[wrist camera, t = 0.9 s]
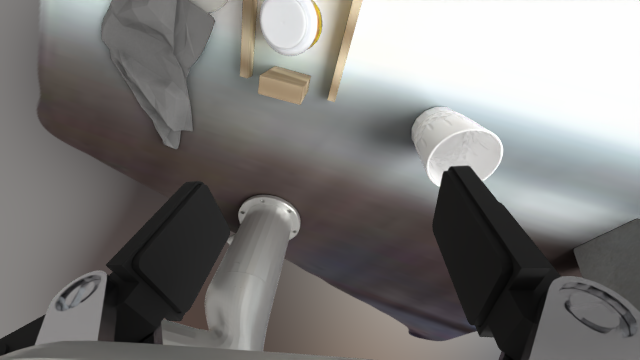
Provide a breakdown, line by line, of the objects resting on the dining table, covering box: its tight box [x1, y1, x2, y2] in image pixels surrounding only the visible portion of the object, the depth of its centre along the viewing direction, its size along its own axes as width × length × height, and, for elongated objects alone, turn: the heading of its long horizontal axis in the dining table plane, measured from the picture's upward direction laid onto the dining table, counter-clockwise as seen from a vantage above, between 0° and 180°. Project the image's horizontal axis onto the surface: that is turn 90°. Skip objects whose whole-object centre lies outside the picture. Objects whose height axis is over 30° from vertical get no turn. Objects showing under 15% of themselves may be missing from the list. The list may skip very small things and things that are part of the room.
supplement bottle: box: [260, 0, 322, 56], centre depth 24 cm, size 6×6×10 cm
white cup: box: [411, 107, 503, 187], centre depth 30 cm, size 8×8×10 cm
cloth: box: [102, 0, 215, 149], centre depth 31 cm, size 26×14×2 cm, turn 150°
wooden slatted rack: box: [240, 0, 362, 105], centre depth 25 cm, size 15×13×7 cm
